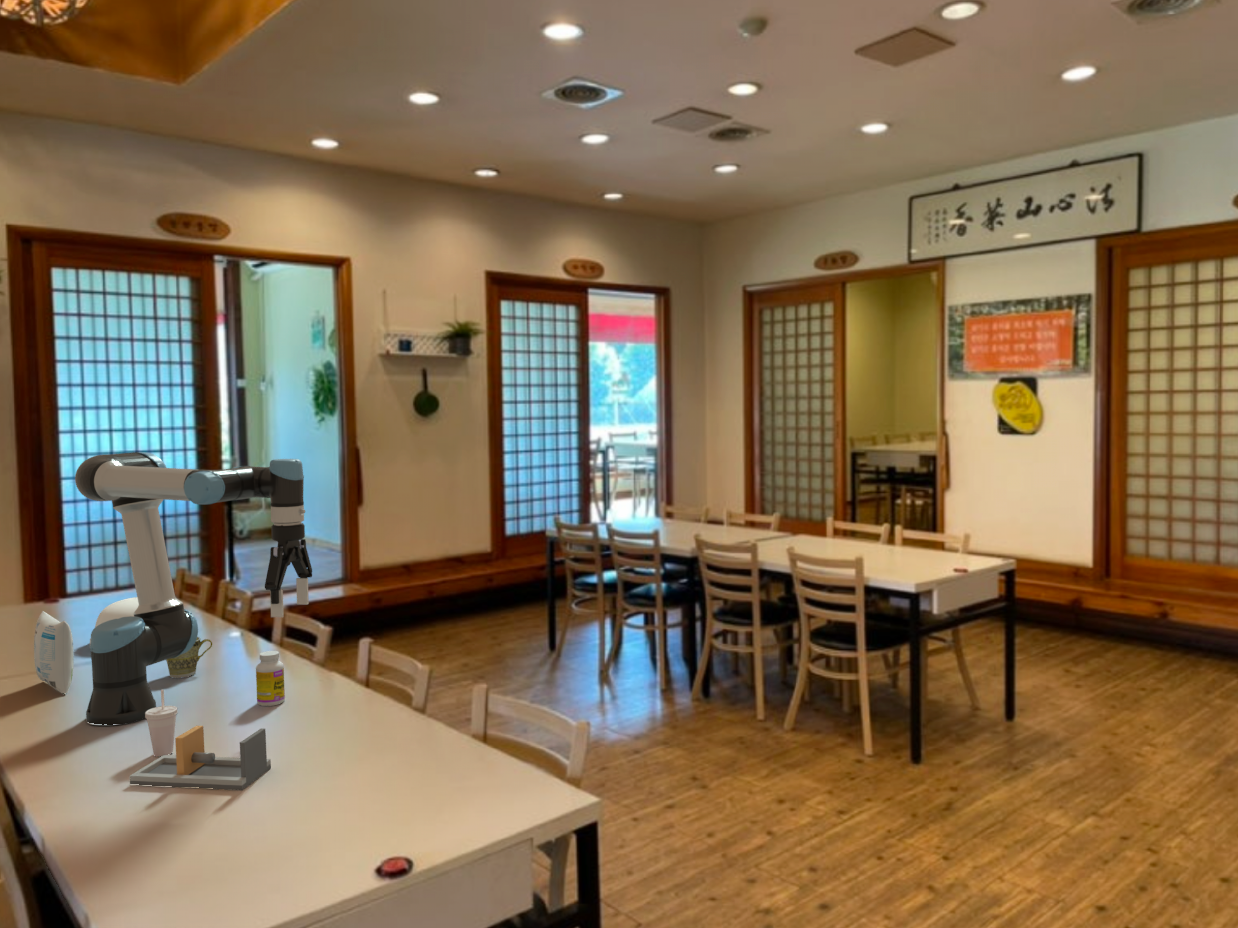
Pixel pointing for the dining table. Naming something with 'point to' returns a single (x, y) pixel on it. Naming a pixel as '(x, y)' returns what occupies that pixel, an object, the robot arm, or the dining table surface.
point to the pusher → (191, 751)
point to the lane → (211, 769)
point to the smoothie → (162, 727)
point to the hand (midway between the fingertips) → (290, 610)
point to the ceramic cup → (186, 661)
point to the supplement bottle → (270, 679)
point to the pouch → (54, 652)
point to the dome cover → (118, 610)
